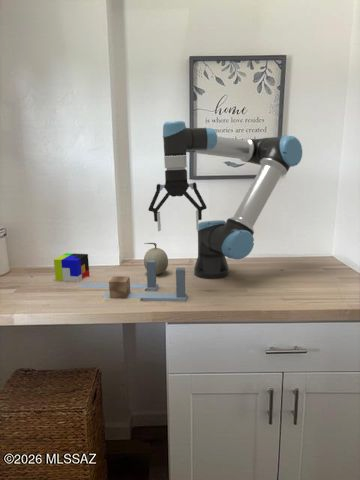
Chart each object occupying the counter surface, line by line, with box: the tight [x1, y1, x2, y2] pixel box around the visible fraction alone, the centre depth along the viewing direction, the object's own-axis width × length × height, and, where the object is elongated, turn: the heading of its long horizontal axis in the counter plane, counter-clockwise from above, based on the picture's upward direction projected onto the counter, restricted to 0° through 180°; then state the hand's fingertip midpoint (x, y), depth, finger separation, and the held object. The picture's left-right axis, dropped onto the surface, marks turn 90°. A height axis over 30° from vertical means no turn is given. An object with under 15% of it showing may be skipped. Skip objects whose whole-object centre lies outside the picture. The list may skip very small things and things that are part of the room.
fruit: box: [143, 242, 169, 276], centre depth 152 cm, size 10×12×15 cm
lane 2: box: [102, 267, 188, 302], centre depth 125 cm, size 30×5×11 cm, turn 85°
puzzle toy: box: [53, 252, 90, 283], centre depth 146 cm, size 10×10×10 cm
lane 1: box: [130, 260, 159, 292], centre depth 134 cm, size 12×5×11 cm, turn 85°
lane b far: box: [78, 282, 109, 289], centre depth 137 cm, size 15×5×1 cm, turn 85°
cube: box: [108, 275, 131, 299], centre depth 126 cm, size 6×6×6 cm
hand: (178, 229), depth 125 cm, fingers open, 13 cm apart
